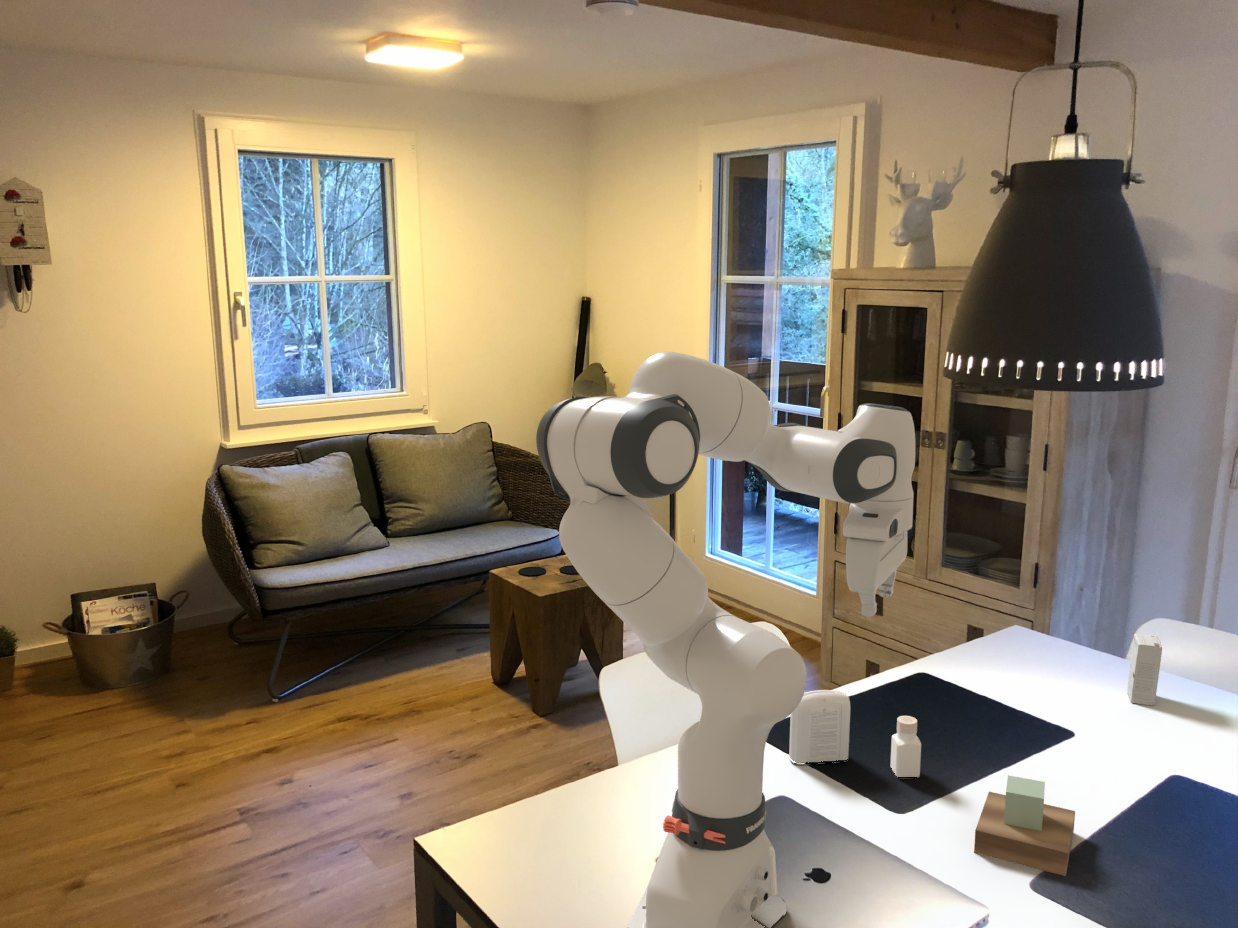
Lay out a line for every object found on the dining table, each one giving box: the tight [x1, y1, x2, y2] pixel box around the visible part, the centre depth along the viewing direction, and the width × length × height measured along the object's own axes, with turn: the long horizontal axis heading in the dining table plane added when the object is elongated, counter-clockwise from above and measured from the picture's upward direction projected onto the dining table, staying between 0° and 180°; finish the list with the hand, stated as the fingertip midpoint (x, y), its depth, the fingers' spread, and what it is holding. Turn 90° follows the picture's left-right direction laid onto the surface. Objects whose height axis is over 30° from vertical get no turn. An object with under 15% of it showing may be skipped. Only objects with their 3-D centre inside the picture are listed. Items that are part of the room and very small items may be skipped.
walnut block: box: [973, 791, 1076, 877], centre depth 143 cm, size 12×12×4 cm
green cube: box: [1004, 774, 1046, 831], centre depth 142 cm, size 5×5×5 cm
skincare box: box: [1126, 633, 1163, 706], centre depth 188 cm, size 6×4×12 cm
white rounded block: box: [788, 689, 851, 763], centre depth 167 cm, size 10×4×12 cm, turn 98°
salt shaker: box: [889, 715, 922, 778], centre depth 162 cm, size 4×4×10 cm
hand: (877, 605), depth 146 cm, fingers open, 8 cm apart
